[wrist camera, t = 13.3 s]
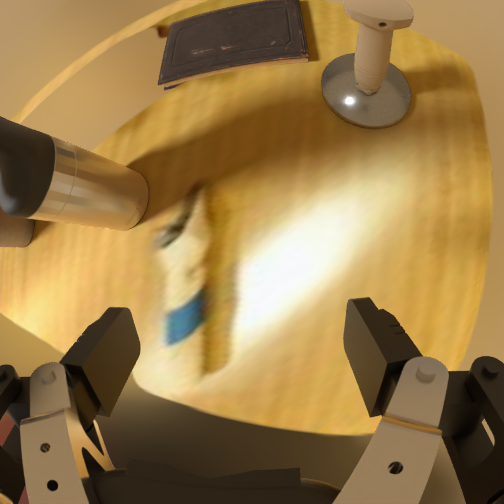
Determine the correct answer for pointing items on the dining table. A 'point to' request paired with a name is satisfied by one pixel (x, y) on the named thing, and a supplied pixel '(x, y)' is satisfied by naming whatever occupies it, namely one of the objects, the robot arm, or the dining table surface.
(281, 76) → the dining table surface
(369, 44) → the handle
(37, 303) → the dining table surface
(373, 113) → the disk
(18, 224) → the pillar candle
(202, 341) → the dining table surface
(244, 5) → the hardcover book
